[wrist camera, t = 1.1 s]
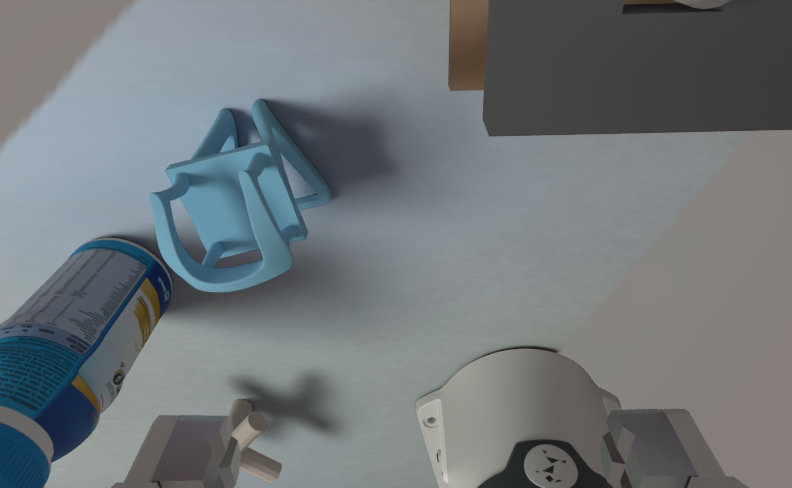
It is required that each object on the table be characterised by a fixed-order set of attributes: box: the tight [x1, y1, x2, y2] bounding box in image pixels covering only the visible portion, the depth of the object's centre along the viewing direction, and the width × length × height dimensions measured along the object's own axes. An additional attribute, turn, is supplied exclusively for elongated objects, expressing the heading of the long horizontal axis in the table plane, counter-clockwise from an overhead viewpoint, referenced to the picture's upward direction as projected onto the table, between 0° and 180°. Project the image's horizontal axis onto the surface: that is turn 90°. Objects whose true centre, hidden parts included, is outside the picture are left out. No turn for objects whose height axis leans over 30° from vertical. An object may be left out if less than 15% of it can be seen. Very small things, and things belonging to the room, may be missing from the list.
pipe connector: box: [229, 399, 282, 484], centre depth 48 cm, size 10×10×10 cm
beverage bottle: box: [0, 238, 173, 488], centre depth 36 cm, size 8×8×20 cm
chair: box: [149, 100, 332, 292], centre depth 34 cm, size 8×8×12 cm
